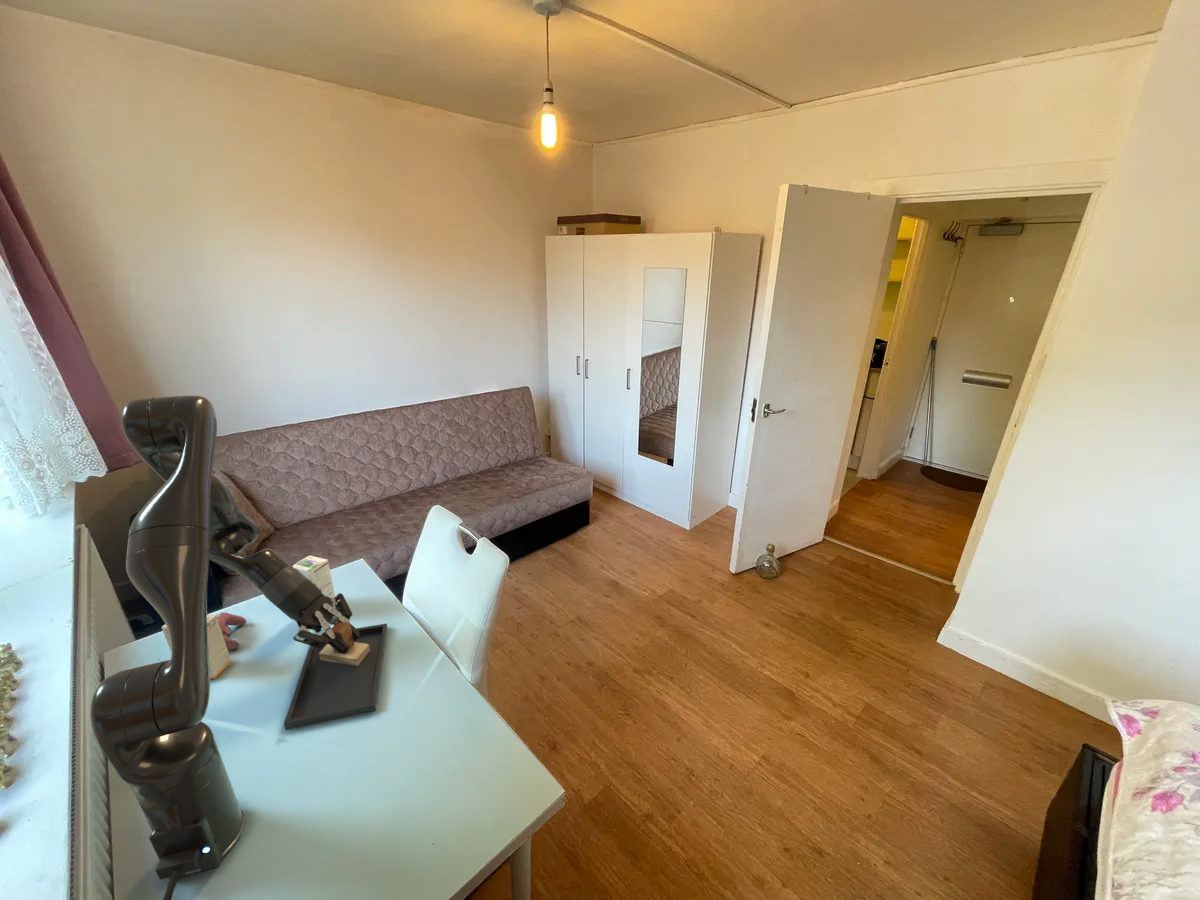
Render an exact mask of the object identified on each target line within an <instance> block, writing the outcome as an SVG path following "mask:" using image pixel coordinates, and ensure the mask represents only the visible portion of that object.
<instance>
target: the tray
mask: <svg viewBox="0 0 1200 900" xmlns="http://www.w3.org/2000/svg"><path fill="white" fill-rule="evenodd" d="M355 628H356V629H357V630H358V631H359V632H360V633H359V634H360V637H359V638H358V639H357V640H356V641H354V642H358V643H364V644H369V647H370V652H369V653H368V654H367V656H366V657H365V658H364V659H363V661H362V662H361V663H360V664H359V666H354V665H348V664H342V663H335V662H329V661H323V660H320V655H319V653H320V652H321V651H322V649H323V648H324V647H325V646H326V645H327V644H326V645H324V646H322V647H321V648H317V647H314V646H311V645H309V648H308V651H307V654H306V657H305V660H304V663H303V666H302V668H301V671H300V675H299V677H298V680H297V683H296V687H295V689H294V692H293V695H292V698H291V702H290V704H289V708H288V710H287V714H286V716H285V720H284V722H283V726H284V729H285V730H291V729H295V728H296V729H297V728H300V727H305V726H310V725H315V724H320V723H325V722H329V721H333V720H339V719H343V718H347V717H352V716H357V715H358V716H359V715H362V714H367V713H372V712H376V711H377V705H378V699H379V698H378V697H379V693H380V692H379V691H380V684H381V677H382V671H383V665H384V658H385V657H384V656H385V650H386V644H387V637H388V629H389V626H388V623H380V624H375V625H368V626H362V627H355Z"/></svg>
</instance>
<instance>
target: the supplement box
mask: <svg viewBox="0 0 1200 900" xmlns="http://www.w3.org/2000/svg"><path fill="white" fill-rule="evenodd" d="M216 615H217V614H207V629H208V646H209V663H210V680H216V679H217V678H218V677H219V676H221V674H222V673H223V672H224V671H225V670H227V668H229V667H230V666H231V665H232V664H233V662H232V659H231V656H230V653H229V650H227V647H226V644H225V641H224V638H223V635H222V632H221V629H220V626H219V623H218V620H217V617H216ZM161 630H162V633H163V635H164V637H165V639H166V642H167V646H168V648H169V651H170V653H171V654H172V646H171V639H170V634H169V631H168V628H167V626H166V624H165V623H164V624H163V625H162V626H161Z"/></svg>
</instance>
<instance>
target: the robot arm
mask: <svg viewBox="0 0 1200 900" xmlns="http://www.w3.org/2000/svg"><path fill="white" fill-rule="evenodd" d="M120 420H121V428H122V431H123V435H124V437H125V438H126V440H127V442H128V443H129V445H130V446H131V447H132V449H133V451H134V452H135V453H136V454H138V456H139V457H140V458H141V460H143V461H144V462H145V463H146V465H148V466H149V468H151V469H152V471H153V472H155V474H156V475H158V476H159V478H160V479H162V480H163V481H164V484H163V485H162V486H161V487H160V488H159V489H158V490H157V491H156V492H155V493H154V494H153V496H151V498H150V499H149V500H148V501H147V502H146V504H144V505H143V507H142V509H140V511H138V513H137V514H136V516H135V517H134V518H133V521H132V523H131V525H130V527H129V530H128V538H127V549H126V559H125V571H126V574H127V576H128V578H129V580H130V582H131V584H132V585H133V586H134V587H135V589H136V590H137V591H138V592H139V594H140V595H142V597H143V598H144V599H145V600H146V602H148V603H149V604H150V606H152V607H153V609H154V610H155V611H156V612H157V614H158V615H159V616H160V618H161V619H162V621H163V622H164V625H165V624H166V626H167V628H168V631H169V634H170V639H171V646H172V653H171V657H170V659H167V660H163V661H159V662H154V663H150V664H146V665H141V666H136V667H133V668H128V669H124V670H120V671H118V672H115V673H112V674H110V675H109V676H107V677H105V678H104V679H103V680H102V681H101V682H100V683H99V684H98V686H97V687H96V689H95V691H94V693H93V695H92V698H91V702H90V708H89V717H90V724H91V725H90V726H91V729H92V732H93V734H94V737H95V739H96V742H97V744H98V745H99V747H100V749H101V751H102V752H103V753H104V755H105V756H106V758H107V760H108V761H109V763H110V764H111V766H112V768H113V770H114V771H115V773H116V774H117V776H118V778H119V779H120V780H121V781H122V782H123V783H125V784H126V785H129V786H130V788H131V790H132V792H133V794H134V796H135V798H136V800H137V803H138V805H139V807H140V809H141V811H142V813H143V815H144V818H145V819H146V822H147V824H148V826H149V829H150V830H151V833H150V835H149V837H148V840H149V841H150V844H151V846H152V848H153V850H154V852H155V855H156V856H157V858H158V860H159V861H158V863H157V866H156V868H155V870H154V872H155V873H156V876H157V877H158V879H159V880H160V881H161V880H164V879H168V880H169V881H168V883H167V886H166V889H165V892H164V894H163V895H164V896H163V899H162V900H172V897H173V894H174V891H175V888H176V885H177V882H178V879H179V878H181V877H186V876H189V875H195V874H197V873H200V872H203V871H207V870H211V869H215V868H218V867H219V866H220V865H221V863H222V861H223V858H224V857H225V856H226V855H227V854H228V853H229V852H230V851H231V850H232V849H233V847H235V845H236V844H237V842H238V841H239V839H240V837H241V836H242V834H243V831H244V828H245V821H246V820H245V819H246V818H245V814H244V813H243V810H242V808H241V806H240V804H239V801H238V798H237V796H236V793H235V790H234V788H233V786H232V782H231V779H230V777H229V774H228V772H227V769H226V765H225V764H224V761H223V758H222V755H221V753H220V750H219V747H218V744H217V742H216V738H215V734H214V733H213V731H212V729H211V727H210V726H209V725H208V724H207V723H205V722H203V719H204V717H205V716H206V715H207V711H208V708H209V704H210V703H209V702H210V697H211V696H210V695H211V679H210V663H209V646H208V629H207V615H208V587H209V585H208V584H209V570H210V569H209V568H210V562H212V563H214V564H216V565H219V566H221V567H224V568H226V569H227V570H231V571H233V572H234V573H236V574H238V575H240V576H241V577H243V579H245V580H247V581H248V582H249V583H250V584H251V585H252V586H254V587H255V588H256V589H257V590H259V592H261V594H262V595H263V596H264V597H265V598H266V599H267V600H268V601H269V602H270V603H272V604H273V606H275V607H276V608H277V609H278V610H280V612H282V613H283V614H284V615H286V616H287V617H288V618H289V619H290V620H293V621H295V622H296V623H297V626H298V630H297V632H296V634H295V635H294V636H293V638H292V639H293V640H294V641H295V642H298V643H300V644H301V643H302V644H304V645H308V646H310V645H311V646H314V647H317V648H321V647H322V646H324V645H326V644H329V645H331V646H332V647H333V648H334V649H335V650H337V651H338V652H339V653H341V652H342V653H345V652H346V651H348V649H349V648H350V646H349V645H348V644H347V643H346V642H344V641H343V640H342V639H341V638H340V637H338V636H337V637H336V635H335V633H334V632H333V631H332V630H331V628H332V626H334V625H335V624H336V623H337V622H344V623H350V624H351V629H352V634H353V640H354V641H356V640H357V639H358V638H359V637H360V634H359V633H360V632H359V631H358V630H357V629H356V628H357V627H355V626H354V625H353V624H352V623H351V622H350V619H351V618H352V616H353V612H352V610H351V607H350V606H349V604H348V602H347V600H346V598H345V596H344V594H343V593H341V592H339V593H338V594H336V595H335V597H332V598H330V597H327V596H324V595H323V594H322V591H321V590H320V589H319V588H318V587H317V586H316V585H314V584H313V583H312V582H311V581H310V580H309V579H308V578H306V577H305V576H304V575H303V574H302V573H301V572H300V571H298V570H297V569H295V568H294V567H292V566H293V565H291V564H290V563H288V562H287V561H286V560H285V559H284V558H283V557H282V556H281V555H280V554H278V553H277V552H276V551H275V550H274V549H271V548H264V549H261V550H260V551H258V552H255V553H253V554H251V555H248V556H241V555H239V553H241V552H242V551H244V550H245V549H246V548H247V547H249V546H250V545H252V544H253V543H254V542H256V540H257V539H258V538H259V537H260V533H261V529H260V526H259V525H258V523H257V522H256V521H255V520H254V519H252V518H251V517H250V516H249V515H247V514H246V513H245V512H243V511H242V509H241V508H240V507H239V506H238V505H237V503H236V500H235V498H234V496H233V494H232V492H231V490H230V489H229V486H227V484H226V482H224V481H223V480H222V479H221V478H219V477H218V476H216V474H215V475H214V474H213V467H214V461H215V453H216V447H217V446H216V445H217V438H218V437H217V436H218V419H217V413H216V409H215V407H214V405H213V403H212V402H211V400H209V399H208V398H207V397H205V396H203V395H194V394H193V395H191V394H190V395H188V394H187V395H174V396H173V395H172V396H155V397H141V398H136V399H132V400H130V401H128V402H127V403H126V404H125V405H124V407H123V409H122V412H121V419H120ZM334 606H335V608H333V607H334ZM311 630H312V632H311Z"/></svg>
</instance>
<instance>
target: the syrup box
mask: <svg viewBox="0 0 1200 900" xmlns="http://www.w3.org/2000/svg"><path fill="white" fill-rule="evenodd" d="M291 566H292V567H294V568H295V569H297V570H298V571H300V572H301V573H302V574H303V575H304V576H305V577H306V578H308V579H309V580H310V581H311V582H312V583H313V584H314V585H316V586H317V587H318V588H319V589H320V590H321V591H322V594H323V595H324V596H327V597H330V598H332V597H335V596H336V595H335V589H334V584H333V579H332V573H331V569H330V563H329V559H328V558H323V557H319V556H315V555H308V556H306V557H304V558H302V559H301V560H299V561H297V562H296V563H294V564H293V565H291ZM333 608H334V609H336V608H335V606H334V607H333Z"/></svg>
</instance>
